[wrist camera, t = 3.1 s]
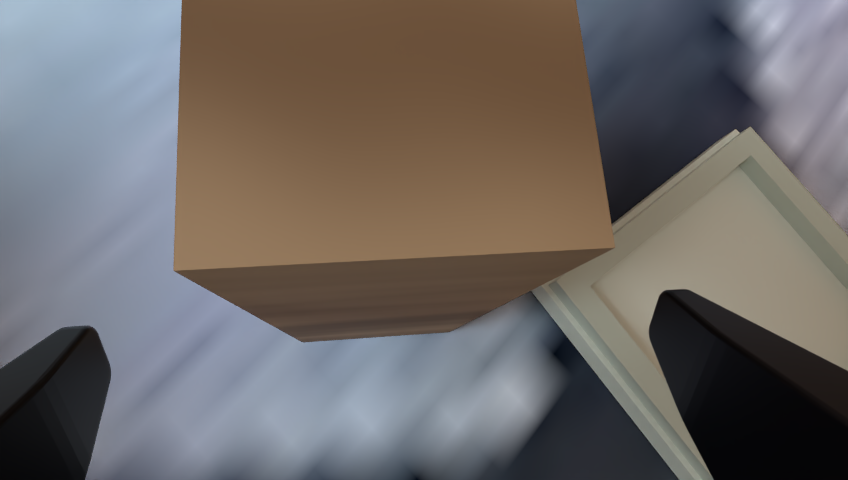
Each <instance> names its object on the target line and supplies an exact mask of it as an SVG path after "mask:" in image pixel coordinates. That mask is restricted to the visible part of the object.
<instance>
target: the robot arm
mask: <svg viewBox="0 0 848 480" xmlns="http://www.w3.org/2000/svg"><path fill="white" fill-rule="evenodd" d="M649 338H650V342H651V345H652V347H653V350H654V352H655V355H656V357H657V360H658V362H659V365H660V367H661V370H662V372H663V374H664V377H665V379H666V382H667V384H668V387H669V389H670V392H671V394H672V397H673V399H674V402H675V404H676V407H677V409H678V411H679V414H680V416H681V418H682V420H683V422H684V424H685V426H686V428H687V430H688V432H689V434H690V436H691V438H692V440H693V442H694V444H695V446H696V447H697V449H698V451H699V453H700V455H701V457H702V459H703V461H704V462H705V464H706V466H707V468H708V470H709V472H710V474H711V476H712V478H713V479H714V480H848V371H847V370H845V369H843V368H842V367H840V366H838V365H836V364H834V363H832V362H830V361H828V360H826V359H824V358H822V357H820V356H818V355H816V354H814V353H812V352H810V351H808V350H806V349H804V348H802V347H800V346H798V345H796V344H794V343H792V342H791V341H789V340H787V339H785V338H783V337H781V336H779V335H777V334H775V333H773V332H771V331H769V330H767V329H765V328H763V327H761V326H759V325H757V324H755V323H753V322H751V321H749V320H747V319H745V318H743V317H742V316H740V315H738V314H736V313H734V312H732V311H730V310H728V309H726V308H724V307H722V306H720V305H718V304H716V303H714V302H712V301H710V300H708V299H706V298H704V297H702V296H700V295H698V294H696V293H694V292H693V291H691V290H688V289H673V290H665V291H663V292H662V293H661V294H660V295H659V297H658V300H657V304H656V307H655V310H654V313H653V316H652V319H651V322H650V326H649ZM110 379H111V368H110V364H109V361H108V359H107V356H106V353H105V351H104V348H103V346H102V343H101V340H100V338H99V335H98V333H97V331H96V330H95V329H94V328H93V327H91V326H74V327H64V328H61V329H59V330H57V331H56V332H54V333H53V334H51V335H50V336H48V337H47V338H45V339H44V340H42V341H41V342H39V343H38V344H36V345H35V346H33V347H32V348H30V349H29V350H27V351H26V352H24V353H23V354H22V355H20V356H19V357H17V358H16V359H14V360H13V361H11V362H10V363H8V364H7V365H5V366H4V367H2V368H1V369H0V480H85V477H86V474H87V471H88V467H89V464H90V460H91V456H92V452H93V448H94V444H95V440H96V436H97V432H98V428H99V424H100V420H101V416H102V412H103V408H104V404H105V400H106V396H107V392H108V388H109V384H110Z"/></svg>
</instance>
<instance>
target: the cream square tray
mask: <svg viewBox="0 0 848 480" xmlns="http://www.w3.org/2000/svg"><path fill="white" fill-rule="evenodd" d="M612 230H613V236H614V243H615V248H614V249H612V250H610V251H608V252H606V253H604V254H602V255H600V256H598V257H596V258H594V259H592V260H590V261H588V262H586V263H584V264H582V265H580V266H578V267H576V268H575V269H573V270H571V271H569V272H567V273H565V274H563V275H561V276H559V277H557V278H555V279H553V280H551V281H549V282H547V283H545V284H543V285H541V286H539V287H537V288H535V289H533V290H531V291H532V293H533V294H534V295H535V297H536V298H537V299H538V300H539V302H540V303H541V304H542V305H543V307H544V308H545V309H546V311H547V312H548V313H549V314H550V316H551V317H552V318H553V319H554V321H555V322H556V323H557V325H558V326H559V327H560V328H561V330H562V331H563V332H564V333H565V335H566V336H567V337H568V339H569V340H570V341H571V342H572V344H573V345H574V346H575V348H576V349H577V350H578V351H579V353H580V354H581V355H582V356H583V358H584V359H585V360H586V362H587V363H588V364H589V365H590V367H591V368H592V369H593V370H594V372H595V373H596V374H597V376H598V377H599V378H600V379H601V381H602V382H603V383H604V384H605V386H606V387H607V388H608V390H609V391H610V392H611V393H612V395H613V396H614V397H615V398H616V400H617V401H618V402H619V404H620V405H621V406H622V407H623V409H624V410H625V411H626V412H627V414H628V415H629V416H630V418H631V419H632V420H633V421H634V423H635V424H636V425H637V426H638V428H639V429H640V430H641V432H642V433H643V434H644V435H645V437H646V438H647V439H648V440H649V442H650V443H651V444H652V446H653V447H654V448H655V449H656V451H657V452H658V453H659V455H660V456H661V457H662V458H663V460H664V461H665V462H666V463H667V465H668V466H669V467H670V469H671V470H672V471H673V472H674V474H675V475H676V476H677V477H678V479H679V480H714V479H713V478H712V476H711V474H710V472H709V470H708V468H707V466H706V464H705V462H704V461H703V459H702V457H701V455H700V453H699V451H698V449H697V447H696V446H695V444H694V442H693V440H692V438H691V436H690V434H689V432H688V430H687V428H686V426H685V424H684V422H683V420H682V418H681V416H680V414H679V411H678V409H677V407H676V404H675V402H674V399H673V397H672V394H671V392H670V389H669V387H668V384H667V382H666V379H665V377H664V374H663V372H662V370H661V367H660V365H659V362H658V360H657V357H656V355H655V352H654V350H653V347H652V345H651V342H650V338H649V326H650V322H651V319H652V316H653V313H654V310H655V307H656V304H657V300H658V297H659V295H660V294H661V293H662V292H663V291H665V290H673V289H688V290H691V291H693V292H694V293H696V294H698V295H700V296H702V297H704V298H706V299H708V300H710V301H712V302H714V303H716V304H718V305H720V306H722V307H724V308H726V309H728V310H730V311H732V312H734V313H736V314H738V315H740V316H742V317H743V318H745V319H747V320H749V321H751V322H753V323H755V324H757V325H759V326H761V327H763V328H765V329H767V330H769V331H771V332H773V333H775V334H777V335H779V336H781V337H783V338H785V339H787V340H789V341H791V342H792V343H794V344H796V345H798V346H800V347H802V348H804V349H806V350H808V351H810V352H812V353H814V354H816V355H818V356H820V357H822V358H824V359H826V360H828V361H830V362H832V363H834V364H836V365H838V366H840V367H842V368H843V369H845V370H847V371H848V235H847V234H846V233H845V232H844V231H843V230H842V229H841V228H840V226H839V225H838V224H837V223H836V222H835V221H834V220H833V219H832V217H831V216H830V215H829V214H828V213H827V212H826V211H825V210H824V208H823V207H822V206H821V205H820V204H819V203H818V202H817V201H816V199H815V198H814V197H813V196H812V195H811V194H810V193H809V192H808V190H807V189H806V188H805V187H804V186H803V185H802V184H801V183H800V182H799V180H798V179H797V178H796V177H795V176H794V175H793V174H792V173H791V171H790V170H789V169H788V168H787V167H786V166H785V165H784V164H783V162H782V161H781V160H780V159H779V158H778V157H777V156H776V155H775V153H774V152H773V151H772V150H771V149H770V148H769V147H768V146H767V144H766V143H765V142H764V141H763V140H762V139H761V138H760V137H759V136H758V134H757V133H756V132H755V131H754V130H753V129H752V128H751V127H749V128H747V129H746V130H744V131H743V132H741V133H739V132H738V131H737V130H736V129H735V130H734V131H732V132H731V133H729V134H728V135H726V136H725V137H723V138H722V139H720V140H718V141H717V142H716V143H714V144H713V145H712V146H711V147H709V148H708V149H707V150H705V151H704V152H703V153H702V154H700V155H699V156H698V157H697V158H695V159H694V160H693V161H691V162H690V163H689V164H688V165H686V166H685V167H684V168H683V169H681V170H680V171H679V172H678V173H676V174H675V175H674V176H672V177H671V178H670V179H669V180H667V181H666V182H665V183H664V184H662V185H661V186H660V187H658V188H657V189H656V190H655V191H653V192H652V193H651V194H650V195H648V196H647V197H646V198H645V199H643V200H642V201H641V202H639V203H638V204H637V205H636V206H634V207H633V208H632V209H631V210H629V211H628V212H627V213H625V214H624V215H623V216H622V217H620V218H619V219H618V220H617V221H615V222H614V223H613V224H612Z"/></svg>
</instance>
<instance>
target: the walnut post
mask: <svg viewBox="0 0 848 480" xmlns="http://www.w3.org/2000/svg"><path fill="white" fill-rule="evenodd" d="M614 248H615V243H614V236H613V230H612V224H611V218H610V211H609V205H608V199H607V193H606V186H605V180H604V174H603V168H602V161H601V155H600V149H599V142H598V136H597V130H596V124H595V117H594V111H593V105H592V99H591V92H590V86H589V80H588V74H587V67H586V61H585V55H584V49H583V42H582V36H581V30H580V24H579V17H578V11H577V5H576V0H182V15H181V47H180V79H179V112H178V144H177V176H176V208H175V241H174V271H175V272H177V273H179V274H180V275H182V276H184V277H186V278H188V279H189V280H191V281H193V282H195V283H197V284H198V285H200V286H202V287H204V288H206V289H207V290H209V291H211V292H213V293H215V294H216V295H218V296H220V297H222V298H224V299H225V300H227V301H229V302H231V303H233V304H234V305H236V306H238V307H240V308H242V309H243V310H245V311H247V312H249V313H251V314H252V315H254V316H256V317H258V318H260V319H261V320H263V321H265V322H267V323H269V324H270V325H272V326H274V327H276V328H278V329H279V330H281V331H283V332H285V333H287V334H288V335H290V336H292V337H294V338H296V339H297V340H299V341H301V342H313V341H327V340H342V339H356V338H371V337H385V336H400V335H414V334H429V333H443V332H450V331H452V330H454V329H456V328H458V327H460V326H462V325H464V324H466V323H468V322H470V321H472V320H474V319H476V318H478V317H480V316H482V315H484V314H486V313H488V312H490V311H492V310H494V309H496V308H498V307H500V306H502V305H504V304H506V303H508V302H510V301H511V300H513V299H515V298H517V297H519V296H521V295H523V294H525V293H527V292H529V291H531V290H533V289H535V288H537V287H539V286H541V285H543V284H545V283H547V282H549V281H551V280H553V279H555V278H557V277H559V276H561V275H563V274H565V273H567V272H569V271H571V270H573V269H575V268H576V267H578V266H580V265H582V264H584V263H586V262H588V261H590V260H592V259H594V258H596V257H598V256H600V255H602V254H604V253H606V252H608V251H610V250H612V249H614Z"/></svg>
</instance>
